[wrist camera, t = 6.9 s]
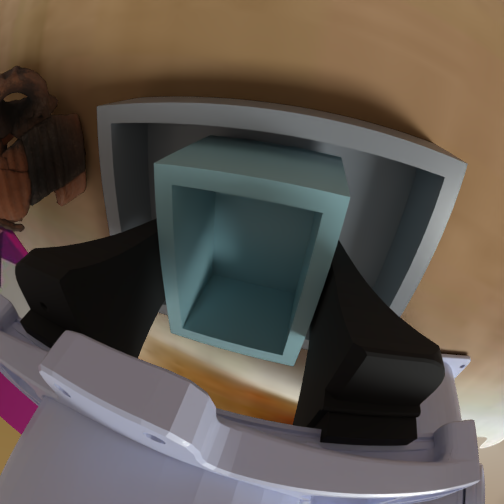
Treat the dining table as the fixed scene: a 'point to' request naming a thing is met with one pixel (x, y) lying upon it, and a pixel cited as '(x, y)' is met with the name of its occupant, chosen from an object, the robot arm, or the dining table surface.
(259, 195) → the small crate
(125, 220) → the grey shallow open box
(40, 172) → the pottery mug
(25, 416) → the decorative box
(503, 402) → the dining table surface
